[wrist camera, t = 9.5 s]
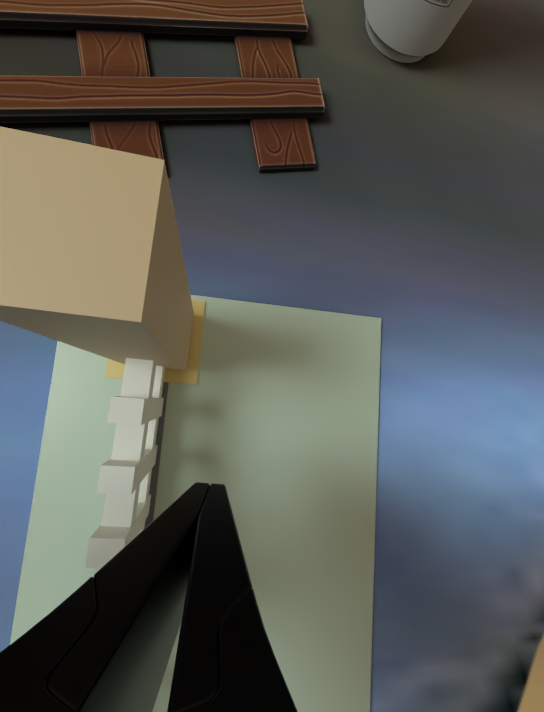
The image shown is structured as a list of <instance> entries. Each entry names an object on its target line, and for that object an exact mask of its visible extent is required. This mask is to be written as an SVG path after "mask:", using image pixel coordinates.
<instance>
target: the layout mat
mask: <svg viewBox="0 0 544 712" xmlns="http://www.w3.org/2000/svg"><path fill="white" fill-rule="evenodd" d="M191 301H192V306H193V311H194V317H193V325H192V333H191V342H190V350H189V358H188V366H187V371H185V370H175V369H165V374H164V381H163V389H162V397H161V398H164V400H163V408H162V416H160V417H159V420H158V427H157V435H156V442H155V445H158V446H157V454H156V462H155V465H154V466H153V468H152V473H151V481H150V488H149V494H151V500H150V508H149V514H148V516H147V518H146V520H145V526H144V529H145V528H146V527H147V526H148V525H149V524H150V523H151V522H152V521H154V520H155V519H156V518H157V517H158V516H159V515H160V514H161V513H162V512H163V511H165V510H166V509H167V508H168V507H169V506H170V505H171V504H172V503H173V502H174V501H176V500H177V499H178V498H179V497H180V496H181V495H182V494H183V493H184V492H185V491H187V490H188V489H189V488H190V487H191V486H192V485H193V484H194V483H196V482H201V483H209V484H210V485H211V484H212V483H215V484H224V485H225V486H226V489H227V493H228V497H229V501H230V504H231V508H232V512H233V516H234V520H235V523H236V527H237V531H238V535H239V538H240V542H241V546H242V550H243V554H244V557H245V561H246V565H247V569H248V572H249V576H250V580H251V584H252V589H253V590H254V594H255V597H256V601H257V605H258V608H259V611H260V615H261V618H262V621H263V625H264V628H265V631H266V633H267V636H268V639H269V641H270V644H271V647H272V650H273V652H274V655H275V657H276V660H277V662H278V665H279V667H280V670H281V672H282V675H283V677H284V679H285V682H286V684H287V687H288V689H289V692H290V694H291V697H292V699H293V701H294V704H295V706H296V709H297V711H298V712H370V687H371V653H372V619H373V585H374V551H375V517H376V483H377V449H378V415H379V381H380V347H381V318H375V317H367V316H358V315H350V314H342V313H334V312H326V311H318V310H310V309H302V308H293V307H285V306H277V305H269V304H261V303H253V302H245V301H236V300H228V299H220V298H212V297H204V296H196V295H191ZM124 367H125V364H122V363H119V362H116V361H113V360H111V359H108V358H105V357H102V356H99V355H96V354H94V353H91V352H88V351H85V350H82V349H80V348H77V347H74V346H71V345H68V344H65V343H63V342H60V341H58V343H57V349H56V355H55V362H54V368H53V374H52V381H51V387H50V393H49V400H48V406H47V412H46V419H45V425H44V431H43V438H42V444H41V450H40V457H39V463H38V469H37V476H36V482H35V488H34V495H33V501H32V507H31V514H30V520H29V526H28V533H27V539H26V545H25V552H24V558H23V564H22V571H21V577H20V583H19V590H18V596H17V602H16V609H15V615H14V621H13V628H12V634H11V640H10V645H11V644H12V643H13V642H14V641H16V640H17V639H18V638H20V637H21V636H22V635H23V634H24V633H26V632H27V631H28V630H29V629H31V628H32V627H33V626H34V625H36V624H37V623H38V622H39V621H41V620H42V619H43V618H44V617H46V616H47V615H48V614H49V613H50V612H52V611H53V610H54V609H55V608H56V607H57V606H59V605H60V604H61V603H62V602H63V601H64V600H65V599H67V598H68V597H69V596H70V595H71V594H72V593H74V592H75V591H76V590H77V589H78V588H79V587H80V586H81V585H82V584H84V583H85V582H86V581H87V580H88V579H89V578H90V577H94V571H95V568H85V565H86V558H87V552H88V545H89V538H90V537H91V536H92V535H93V533H94V532H95V531H96V530H97V529H98V527H99V526H100V525H101V523H102V516H103V510H104V503H105V496H106V494H102V493H96V492H97V486H98V479H99V472H100V466H101V465H102V464H103V463H105V462H106V461H108V460H109V459H111V455H112V449H113V442H114V435H115V428H116V423H107V420H108V413H109V406H110V400H111V396H120V395H121V388H122V381H123V374H124ZM181 622H182V621H181ZM180 628H181V624H180V627H179V630H178V633H177V636H176V640H175V643H174V646H173V649H172V652H171V655H170V658H169V661H168V664H167V668H166V671H165V674H164V677H163V680H162V683H161V686H160V689H159V692H158V695H157V699H156V702H155V705H154V708H153V711H152V712H167V710H168V703H169V697H170V691H171V684H172V678H173V672H174V666H175V659H176V653H177V647H178V640H179V634H180Z"/></svg>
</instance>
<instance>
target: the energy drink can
mask: <svg viewBox="0 0 544 712" xmlns="http://www.w3.org/2000/svg"><path fill="white" fill-rule="evenodd" d="M471 2H472V0H364V7H365V13H366V17H365V25H366V30H367V33H368V36H369V38H370V40H371V41H372V43H373V44H374V46H375V47H376V48H377V49H378V50H379V51H380V52H381V53H382V54H384V55H385V56H387V57H388V58H390V59H392V60H395V61H398V62H402V63H412V62H416V61H419V60H421V59H422V58H423V57H425V56H426V55H429V54H431V53H434V52H435V51H437V50H438V49H439V48H440V47H441V46H442V45H443V44H444V42H445V41H446V39H447V38H448V36H449V35H450V33H451V32H452V30H453V29H454V27H455V26H456V24H457V23H458V21H459V20H460V18H461V17H462V15H463V14H464V12H465V11H466V9H467V8H468V6H469V5H470V3H471Z"/></svg>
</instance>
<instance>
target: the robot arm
mask: <svg viewBox="0 0 544 712" xmlns="http://www.w3.org/2000/svg"><path fill="white" fill-rule="evenodd" d="M181 621H182V622H181ZM180 624H181V628H180V634H179V640H178V647H177V653H176V659H175V666H174V672H173V678H172V684H171V691H170V697H169V703H168V710H167V712H298V711H297V709H296V706H295V704H294V701H293V699H292V697H291V694H290V692H289V689H288V687H287V684H286V682H285V679H284V677H283V675H282V672H281V670H280V667H279V665H278V662H277V660H276V657H275V655H274V652H273V650H272V647H271V644H270V641H269V639H268V636H267V633H266V631H265V628H264V625H263V621H262V618H261V615H260V611H259V608H258V605H257V601H256V597H255V594H254V590H253V589H252V584H251V580H250V576H249V572H248V569H247V565H246V561H245V557H244V554H243V550H242V546H241V542H240V538H239V535H238V531H237V527H236V523H235V520H234V516H233V512H232V508H231V504H230V501H229V497H228V493H227V489H226V486H225V485H224V484H215V483H212V484H211V485H210V484H209V483H201V482H196V483H194V484H193V485H192V486H191V487H190V488H189V489H188V490H187V491H185V492H184V493H183V494H182V495H181V496H180V497H179V498H178V499H177V500H176V501H174V502H173V503H172V504H171V505H170V506H169V507H168V508H167V509H166V510H165V511H163V512H162V513H161V514H160V515H159V516H158V517H157V518H156V519H155V520H154V521H152V522H151V523H150V524H149V525H148V526H147V527H146V528H145V529H144V530H143V531H141V532H140V533H139V534H138V535H137V536H136V537H135V538H134V539H133V540H132V541H130V542H129V543H128V544H127V545H126V546H125V547H124V548H123V549H122V550H121V551H119V552H118V553H117V554H116V555H115V556H114V557H113V558H112V559H111V560H110V561H108V562H107V563H106V564H105V565H104V566H103V567H102V568H101V569H100V570H99V571H97V572H96V573H95V574H94V577H90V578H89V579H88V580H87V581H86V582H85V583H84V584H82V585H81V586H80V587H79V588H78V589H77V590H76V591H75V592H74V593H72V594H71V595H70V596H69V597H68V598H67V599H65V600H64V601H63V602H62V603H61V604H60V605H59V606H57V607H56V608H55V609H54V610H53V611H52V612H50V613H49V614H48V615H47V616H46V617H44V618H43V619H42V620H41V621H39V622H38V623H37V624H36V625H34V626H33V627H32V628H31V629H29V630H28V631H27V632H26V633H24V634H23V635H22V636H21V637H20V638H18V639H17V640H16V641H14V642H13V643H12V644H11V645H9V646H8V647H7V648H5V649H4V650H3V651H2V652H0V712H152V711H153V708H154V705H155V702H156V699H157V695H158V692H159V689H160V686H161V683H162V680H163V677H164V674H165V671H166V668H167V664H168V661H169V658H170V655H171V652H172V649H173V646H174V643H175V640H176V636H177V633H178V630H179V627H180Z"/></svg>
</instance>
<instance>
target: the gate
mask: <svg viewBox="0 0 544 712" xmlns="http://www.w3.org/2000/svg"><path fill="white" fill-rule="evenodd" d="M193 317H194V311H193V306H192V301H191V295H190V290H189V285H188V280H187V275H186V269H185V264H184V259H183V254H182V249H181V244H180V238H179V233H178V228H177V223H176V218H175V212H174V207H173V202H172V197H171V192H170V186H169V181H168V176H167V171H166V166H165V160H162V159H157V158H152V157H147V156H143V155H138V154H133V153H128V152H123V151H118V150H113V149H108V148H104V147H99V146H94V145H89V144H84V143H79V142H74V141H69V140H64V139H60V138H55V137H50V136H45V135H40V134H35V133H30V132H25V131H21V130H16V129H11V128H6V127H1V126H0V320H1V321H3V322H6V323H9V324H12V325H15V326H17V327H20V328H23V329H26V330H29V331H32V332H34V333H37V334H40V335H43V336H46V337H49V338H51V339H54V340H57V341H60V342H63V343H65V344H68V345H71V346H74V347H77V348H80V349H82V350H85V351H88V352H91V353H94V354H96V355H99V356H102V357H105V358H108V359H111V360H113V361H116V362H119V363H122V364H125V367H124V374H123V381H122V388H121V395H120V396H111V400H110V406H109V413H108V420H107V423H116V428H115V435H114V442H113V449H112V455H111V459H109V460H108V461H106V462H105V463H103V464H102V465H101V466H100V472H99V479H98V486H97V492H96V493H102V494H106V496H105V503H104V510H103V516H102V523H101V525H100V526H99V527H98V529H97V530H96V531H95V532H94V533H93V535H92V536H91V537H90V538H89V545H88V552H87V558H86V565H85V568H95V571H94V574H95V573H96V572H97V571H99V570H100V569H101V568H102V567H103V566H104V565H105V564H106V563H107V562H108V561H110V560H111V559H112V558H113V557H114V556H115V555H116V554H117V553H118V552H119V551H121V550H122V549H123V548H124V547H125V546H126V545H127V544H128V543H129V542H130V541H132V540H133V539H134V538H135V537H136V536H137V535H138V534H139V533H140V532H141V531H143V530H144V526H145V520H146V518H147V516H148V514H149V508H150V500H151V494H149V488H150V481H151V473H152V468H153V466H154V465H155V462H156V454H157V446H158V445H155V442H156V435H157V427H158V420H159V417H160V416H162V408H163V400H164V398H161V397H162V389H163V381H164V374H165V369H175V370H185V371H187V366H188V358H189V350H190V342H191V333H192V325H193Z"/></svg>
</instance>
